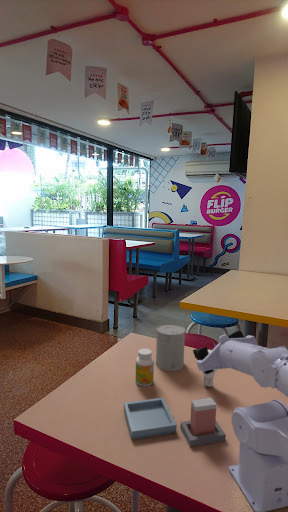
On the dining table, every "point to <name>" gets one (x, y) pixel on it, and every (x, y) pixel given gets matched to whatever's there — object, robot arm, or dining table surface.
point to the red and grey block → (203, 416)
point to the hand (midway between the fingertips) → (208, 347)
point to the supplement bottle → (144, 367)
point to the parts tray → (149, 418)
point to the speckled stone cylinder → (170, 347)
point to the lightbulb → (209, 377)
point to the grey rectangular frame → (202, 439)
